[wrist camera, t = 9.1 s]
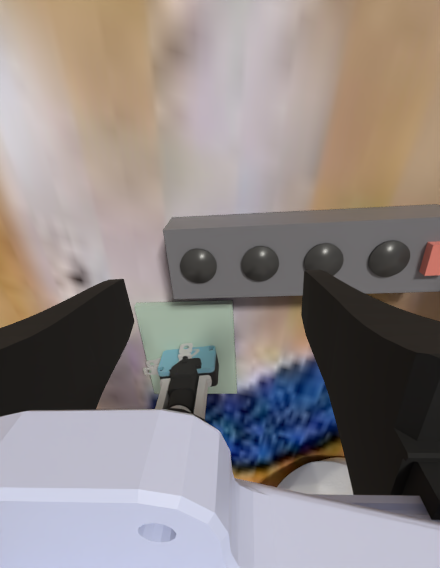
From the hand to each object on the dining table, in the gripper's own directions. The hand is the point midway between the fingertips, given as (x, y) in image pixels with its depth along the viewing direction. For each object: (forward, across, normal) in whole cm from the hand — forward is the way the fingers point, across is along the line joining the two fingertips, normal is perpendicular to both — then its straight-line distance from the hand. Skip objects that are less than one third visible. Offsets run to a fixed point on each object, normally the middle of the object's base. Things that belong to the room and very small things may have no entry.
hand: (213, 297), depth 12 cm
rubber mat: (+10, +4, +11) cm, 16 cm away
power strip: (+10, -5, +2) cm, 12 cm away
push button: (+10, +4, +12) cm, 16 cm away
